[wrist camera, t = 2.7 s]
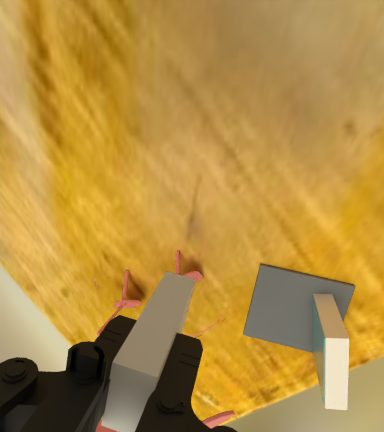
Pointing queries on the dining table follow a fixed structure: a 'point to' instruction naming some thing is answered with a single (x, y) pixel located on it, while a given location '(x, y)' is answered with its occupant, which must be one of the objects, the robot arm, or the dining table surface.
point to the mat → (290, 305)
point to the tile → (330, 351)
